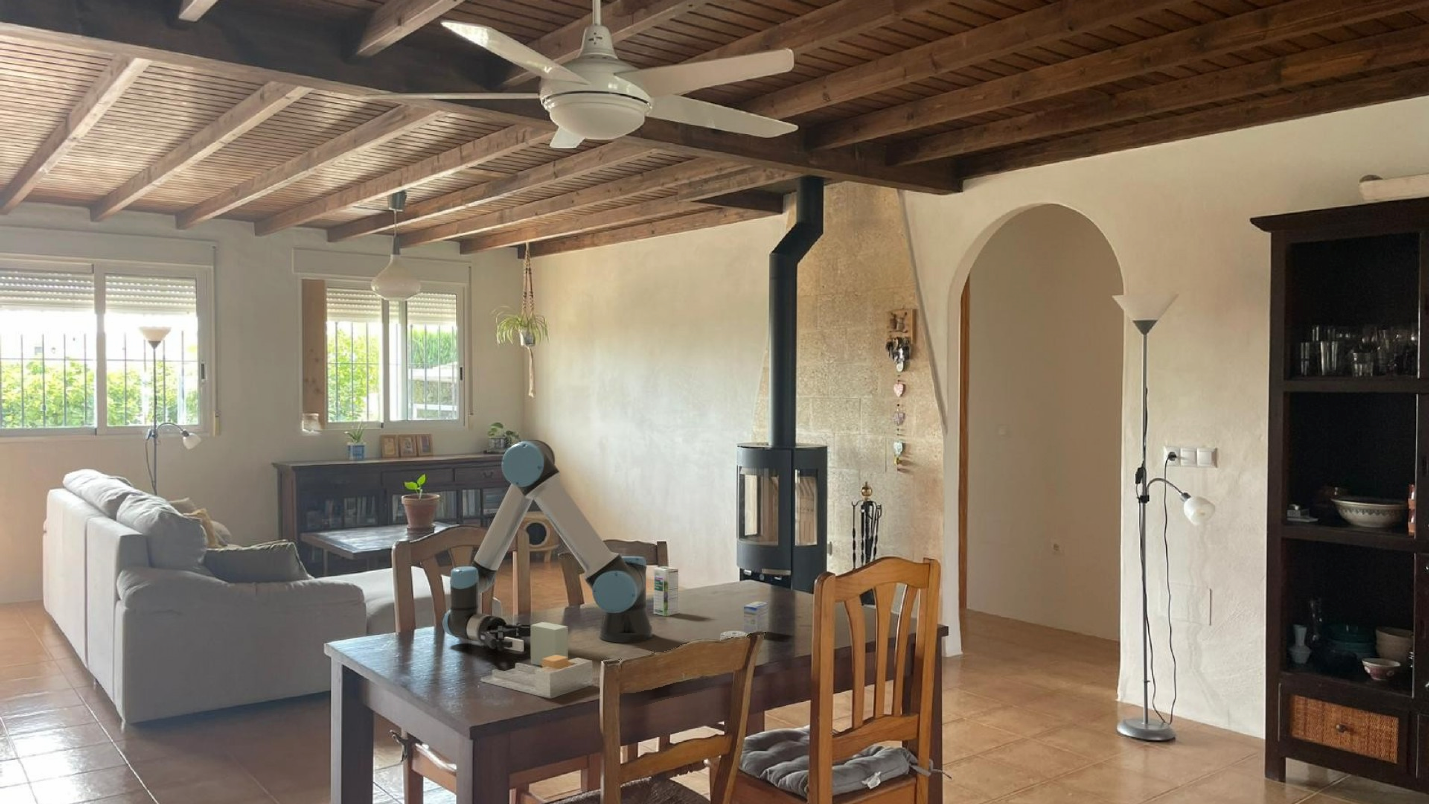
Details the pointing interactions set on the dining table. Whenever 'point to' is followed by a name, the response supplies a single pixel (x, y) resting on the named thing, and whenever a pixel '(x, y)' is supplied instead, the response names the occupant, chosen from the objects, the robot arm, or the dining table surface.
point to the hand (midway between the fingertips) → (542, 640)
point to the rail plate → (520, 679)
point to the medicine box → (756, 617)
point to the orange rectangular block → (555, 662)
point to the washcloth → (629, 654)
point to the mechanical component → (732, 634)
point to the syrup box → (665, 591)
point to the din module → (548, 641)
